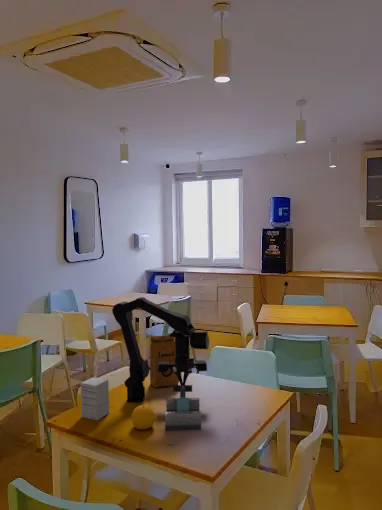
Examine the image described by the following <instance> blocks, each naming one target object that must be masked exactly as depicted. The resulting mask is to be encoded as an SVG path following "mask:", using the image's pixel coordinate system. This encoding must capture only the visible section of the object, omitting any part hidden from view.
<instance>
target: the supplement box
mask: <svg viewBox="0 0 382 510" xmlns="http://www.w3.org/2000/svg"><path fill="white" fill-rule="evenodd" d="M109 387H110V386H109V379H107V378H100V377H91V378H89V379H86V380H84V381H83V382H80V408H81V409H80V411H81V413H80V414H81V418H84V419H89V420H94V421H99V420H100V419H102V418H103V417H105V416H107V415H108V414H110V396H109V395H110V394H109V393H110V392H109Z"/></svg>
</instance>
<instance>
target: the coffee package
mask: <svg viewBox="0 0 382 510" xmlns="http://www.w3.org/2000/svg"><path fill="white" fill-rule="evenodd" d="M169 335H170V334H168V335H167V334H166V335H155V336H150V347H149V359H150V360H149V367H150V369H149V382H150V384H151V385H152V387H154V388H159V387H161V388H162V386H163V387H171V386H172V387H173V385H179V384H180V381H179V379H178V377H177V375H176V374H173V369H168V371H167V372H158V363H159V362H160V361H169V364H175V337H170V336H169Z"/></svg>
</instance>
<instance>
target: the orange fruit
mask: <svg viewBox="0 0 382 510" xmlns="http://www.w3.org/2000/svg"><path fill="white" fill-rule="evenodd" d="M130 417H131V422H132V425H133V426H134V427H135V428H136V429H138V430H147V429H150V428H151V427H152V426H154V423H155V422H156V421H155V420H156V414H155V411H154V409H153V408H152V407H151V406H150V405H148V404H141V405H138V406H136V407H135V408H134V410H133V411H132V412H131V416H130Z"/></svg>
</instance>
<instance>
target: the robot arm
mask: <svg viewBox="0 0 382 510" xmlns="http://www.w3.org/2000/svg"><path fill="white" fill-rule="evenodd" d="M137 309H139V310H142V311H144V312H146V313H148V314H150V315H152V316H154V317H156V318H157V319H160V320H162V321H163V322H166V324H167V325H168V326H169V327H170V328H171V329H173V331H172V332H171V333H170V334H168V335H169V336H170V337H174V341H175V364H169V361H160V362H159V363H158V372H167V371H168V369H173V374H176V375H177V377H178V379H179V385H186V382H187V379H188V377H189V375H190V374H192V373H193V369H196V370H197V371H198V372H207V371H208V364H207V363H208V362H207V361H206V360H205V359H204V360H203V359H202V360H198V359H197V360H196V361H195V358H193V357H192V358H190V357H191V356H190V355H191V354H190V351H191V349H190V348H192V349H193V350H209V347H210V338H209V334H208V331H207V330H205V331H198V330H197V329H196V328H195V327H194V325H193V324H192V323H191V318H190V317H189V316H188V315H187V314H184V313H180V312H174V311H170V310H168V309H167V308H164V307H162V306H161V305H158V304H157V303H155V302H152V301H150V300H148V299H146V297H144V296H140V297H138V298H135V299H134V300H131V301H121V302H119V303H116V304H114V305H113V307H112V309H111V311H112V315H113V317H114V319H115V321H116V322H117V324H118V325H119V326H120V329H121V332H122V336H123V340H124V343H125V347H126V352H127V355H128V358H129V368H128V370H129V371H128V372H129V377H128V378H127V379H125V380H124V382H123V383H124V385H125V387H126V403H142V402H144V399H145V398H146V387H145V385H144V381H145V380H146V379H147V377H149V376H150V364H149V360H148V359H145V360H144V358H143V357H142V354H141V351H140V346H139V344H138V340H137V337H136V336H137V335H136V333H135V328H134V325H133V317H134V316H133V315H134V314H133V311H135V310H137ZM182 373H183V374H182ZM182 375H183V376H182Z"/></svg>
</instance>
